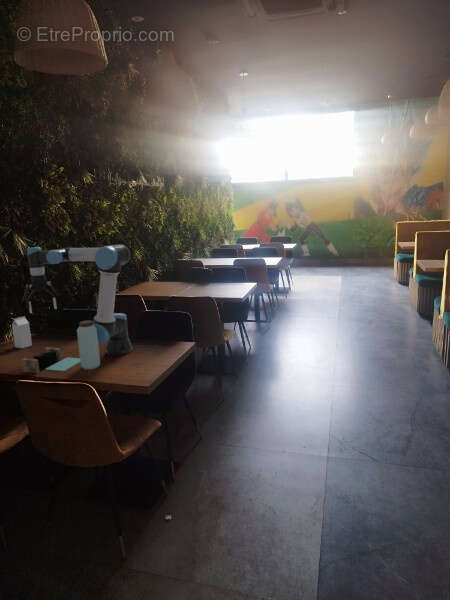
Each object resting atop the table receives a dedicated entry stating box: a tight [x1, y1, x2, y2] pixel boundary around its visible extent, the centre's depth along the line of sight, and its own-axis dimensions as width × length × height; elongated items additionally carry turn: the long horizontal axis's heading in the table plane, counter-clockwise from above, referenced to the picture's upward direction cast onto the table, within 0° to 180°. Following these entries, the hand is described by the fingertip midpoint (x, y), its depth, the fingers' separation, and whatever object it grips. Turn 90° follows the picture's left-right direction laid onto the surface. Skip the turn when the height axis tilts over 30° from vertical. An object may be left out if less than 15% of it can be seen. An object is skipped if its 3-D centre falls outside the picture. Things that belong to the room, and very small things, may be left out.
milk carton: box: [11, 315, 33, 349], centre depth 261 cm, size 7×7×19 cm
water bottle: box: [76, 320, 101, 371], centre depth 220 cm, size 10×10×25 cm
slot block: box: [21, 347, 63, 374], centre depth 226 cm, size 9×20×7 cm, turn 164°
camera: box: [33, 351, 58, 371], centre depth 226 cm, size 14×7×8 cm, turn 150°
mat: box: [44, 357, 81, 373], centre depth 227 cm, size 12×18×1 cm, turn 163°
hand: (43, 310), depth 240 cm, fingers open, 13 cm apart
